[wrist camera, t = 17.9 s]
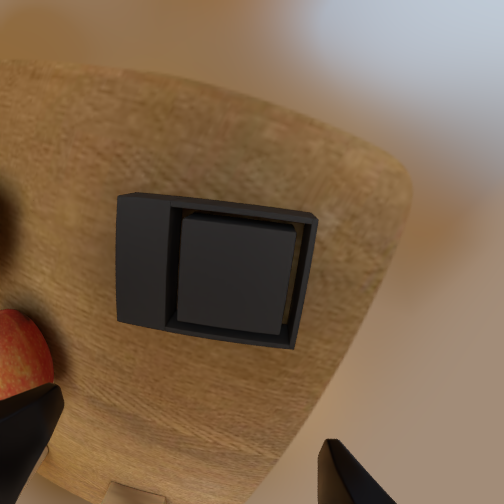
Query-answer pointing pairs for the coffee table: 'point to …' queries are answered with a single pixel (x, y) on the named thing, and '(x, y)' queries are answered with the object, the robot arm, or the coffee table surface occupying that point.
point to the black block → (234, 272)
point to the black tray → (167, 258)
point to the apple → (22, 355)
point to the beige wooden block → (130, 496)
